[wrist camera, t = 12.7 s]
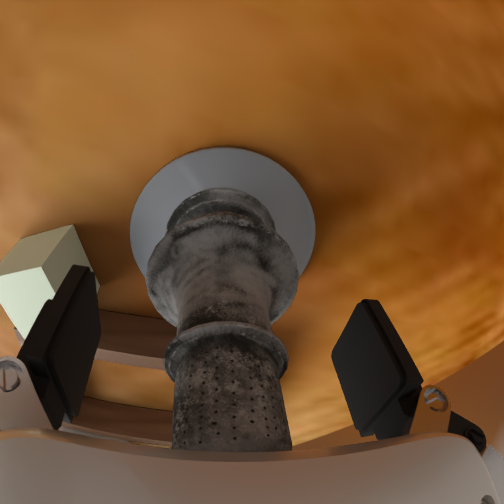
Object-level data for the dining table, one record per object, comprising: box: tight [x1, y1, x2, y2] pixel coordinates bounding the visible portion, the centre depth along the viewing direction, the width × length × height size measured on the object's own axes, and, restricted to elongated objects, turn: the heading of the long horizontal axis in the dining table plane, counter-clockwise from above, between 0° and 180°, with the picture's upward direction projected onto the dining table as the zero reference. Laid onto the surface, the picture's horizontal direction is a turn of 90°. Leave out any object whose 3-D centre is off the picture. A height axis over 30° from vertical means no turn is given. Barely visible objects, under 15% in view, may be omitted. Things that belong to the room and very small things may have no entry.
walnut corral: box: [14, 310, 177, 446], centre depth 19 cm, size 12×15×3 cm
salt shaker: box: [145, 188, 299, 452], centre depth 10 cm, size 6×6×12 cm
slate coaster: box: [130, 146, 316, 278], centre depth 15 cm, size 9×9×1 cm
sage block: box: [0, 224, 100, 339], centre depth 14 cm, size 4×4×4 cm
